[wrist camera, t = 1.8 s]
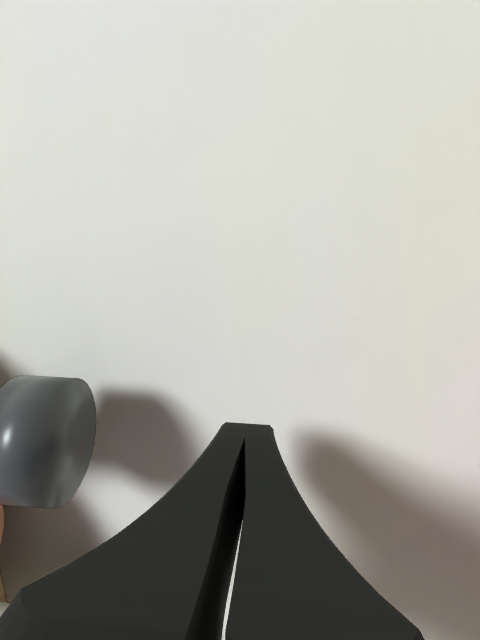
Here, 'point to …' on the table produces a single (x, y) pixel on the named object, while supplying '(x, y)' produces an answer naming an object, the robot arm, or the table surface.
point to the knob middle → (1, 521)
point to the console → (2, 592)
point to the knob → (44, 439)
